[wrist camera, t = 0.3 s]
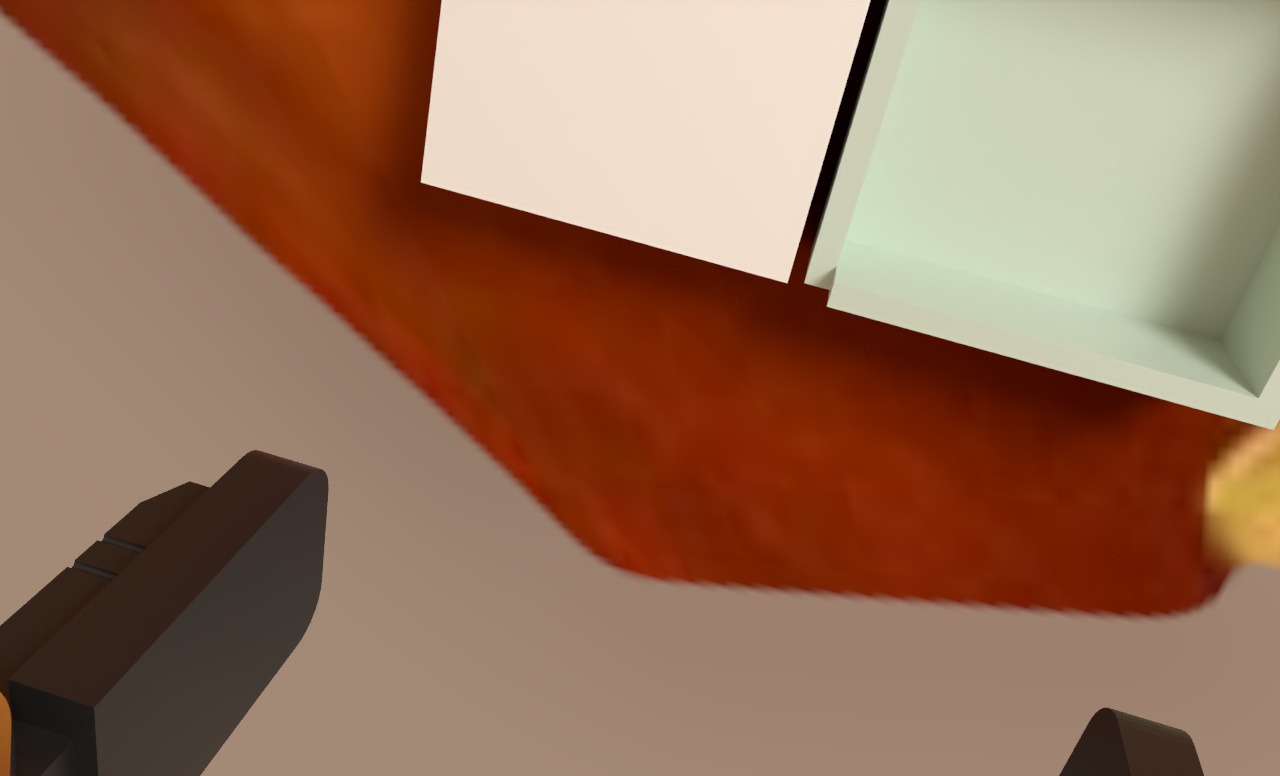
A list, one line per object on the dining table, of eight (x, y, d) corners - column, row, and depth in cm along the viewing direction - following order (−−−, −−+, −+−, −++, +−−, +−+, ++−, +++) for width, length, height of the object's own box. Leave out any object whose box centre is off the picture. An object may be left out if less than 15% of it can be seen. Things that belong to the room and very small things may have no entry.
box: (950, -216, 31) (959, -227, 26) (1465, -98, 29) (1565, -89, 25) (812, 246, 37) (800, 299, 33) (1227, 359, 36) (1273, 429, 31)
